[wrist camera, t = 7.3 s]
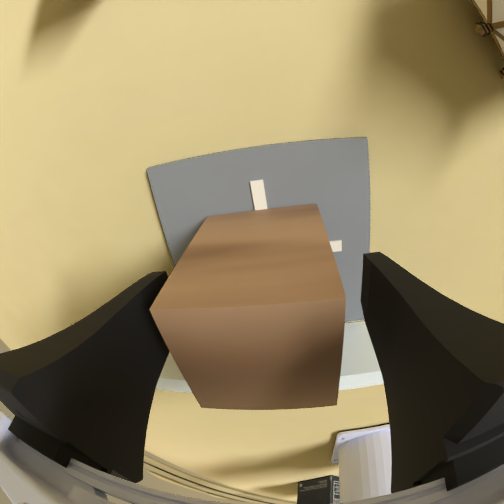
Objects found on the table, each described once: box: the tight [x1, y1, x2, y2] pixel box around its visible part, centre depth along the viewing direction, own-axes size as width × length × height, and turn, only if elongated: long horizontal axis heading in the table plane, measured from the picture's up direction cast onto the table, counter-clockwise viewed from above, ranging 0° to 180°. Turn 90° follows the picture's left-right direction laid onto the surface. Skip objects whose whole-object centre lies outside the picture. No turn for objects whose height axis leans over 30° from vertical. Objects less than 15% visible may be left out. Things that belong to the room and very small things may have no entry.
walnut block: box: [149, 204, 346, 410], centre depth 10 cm, size 4×4×6 cm
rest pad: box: [147, 137, 370, 322], centre depth 12 cm, size 9×9×1 cm
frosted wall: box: [155, 321, 384, 393], centre depth 13 cm, size 1×16×4 cm, turn 99°
